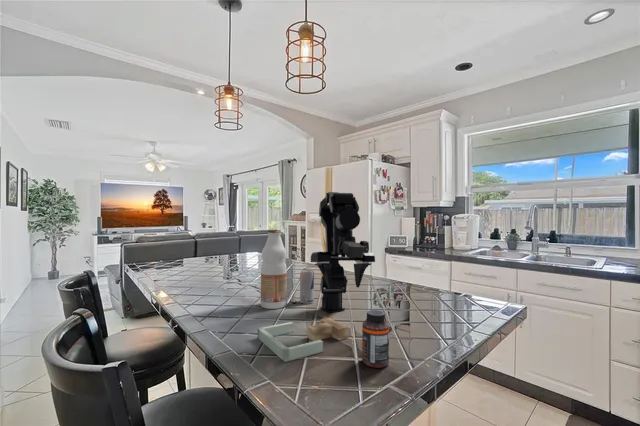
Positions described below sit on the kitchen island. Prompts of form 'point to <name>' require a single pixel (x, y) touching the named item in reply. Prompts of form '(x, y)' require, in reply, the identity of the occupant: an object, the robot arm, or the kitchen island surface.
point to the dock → (281, 350)
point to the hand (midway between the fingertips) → (343, 287)
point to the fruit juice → (273, 272)
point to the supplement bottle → (375, 340)
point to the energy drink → (306, 286)
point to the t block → (327, 330)
